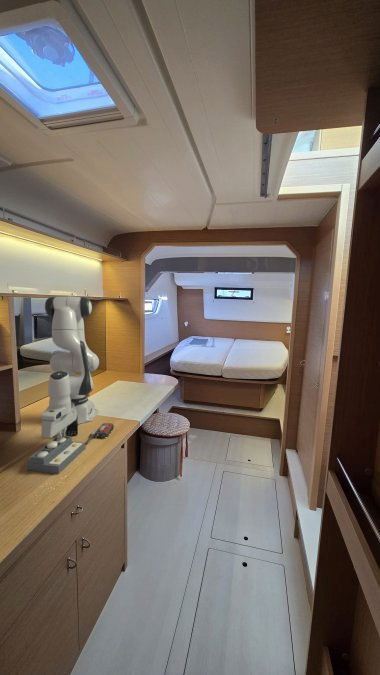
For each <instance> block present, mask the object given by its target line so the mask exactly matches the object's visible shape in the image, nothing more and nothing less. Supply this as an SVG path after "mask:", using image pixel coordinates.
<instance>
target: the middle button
mask: <svg viewBox="0 0 380 675" xmlns="http://www.w3.org/2000/svg"><path fill="white" fill-rule="evenodd" d="M46 445H47V449H52V450H54V449H55V448H56V447H57V446H58V443H57V441H52V440H51V441H49V442H47V443H46Z"/></svg>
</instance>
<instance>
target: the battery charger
mask: <svg viewBox="0 0 380 675" xmlns="http://www.w3.org/2000/svg"><path fill="white" fill-rule="evenodd" d="M78 435H79V424H78V414H77V418H76V420H75V421H74V422H72V423H71V424H70V425H68V426H67V429H66V432H65V436H72V437H75V436H78Z"/></svg>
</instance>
